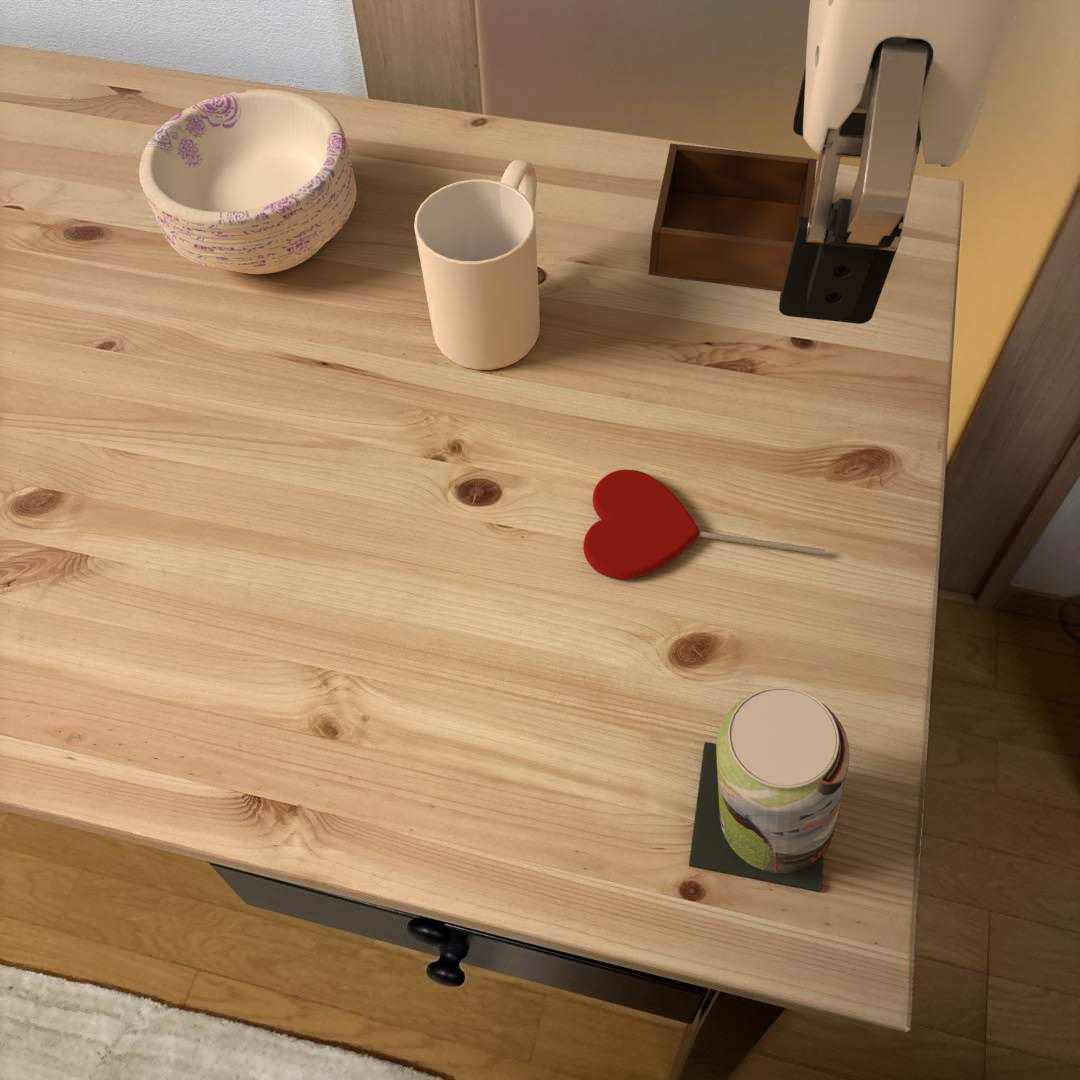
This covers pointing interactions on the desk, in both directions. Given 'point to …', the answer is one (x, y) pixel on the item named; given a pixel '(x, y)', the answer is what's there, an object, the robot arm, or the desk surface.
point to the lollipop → (645, 527)
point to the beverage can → (780, 778)
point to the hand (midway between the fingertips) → (828, 218)
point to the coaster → (716, 851)
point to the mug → (482, 268)
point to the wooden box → (729, 215)
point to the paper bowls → (249, 180)
